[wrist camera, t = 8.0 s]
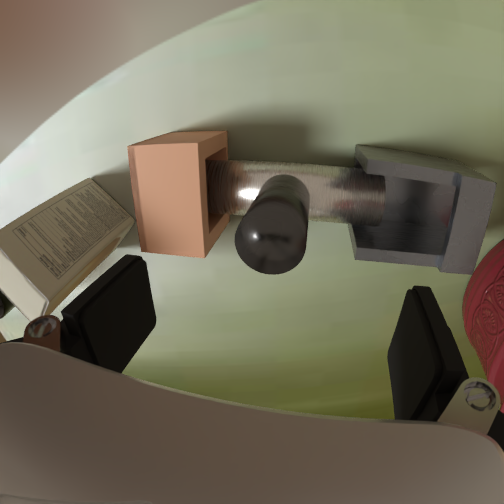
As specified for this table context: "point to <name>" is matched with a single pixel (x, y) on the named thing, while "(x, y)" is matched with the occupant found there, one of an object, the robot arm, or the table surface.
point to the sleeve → (424, 211)
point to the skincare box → (58, 246)
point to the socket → (176, 192)
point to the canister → (487, 316)
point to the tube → (289, 205)
